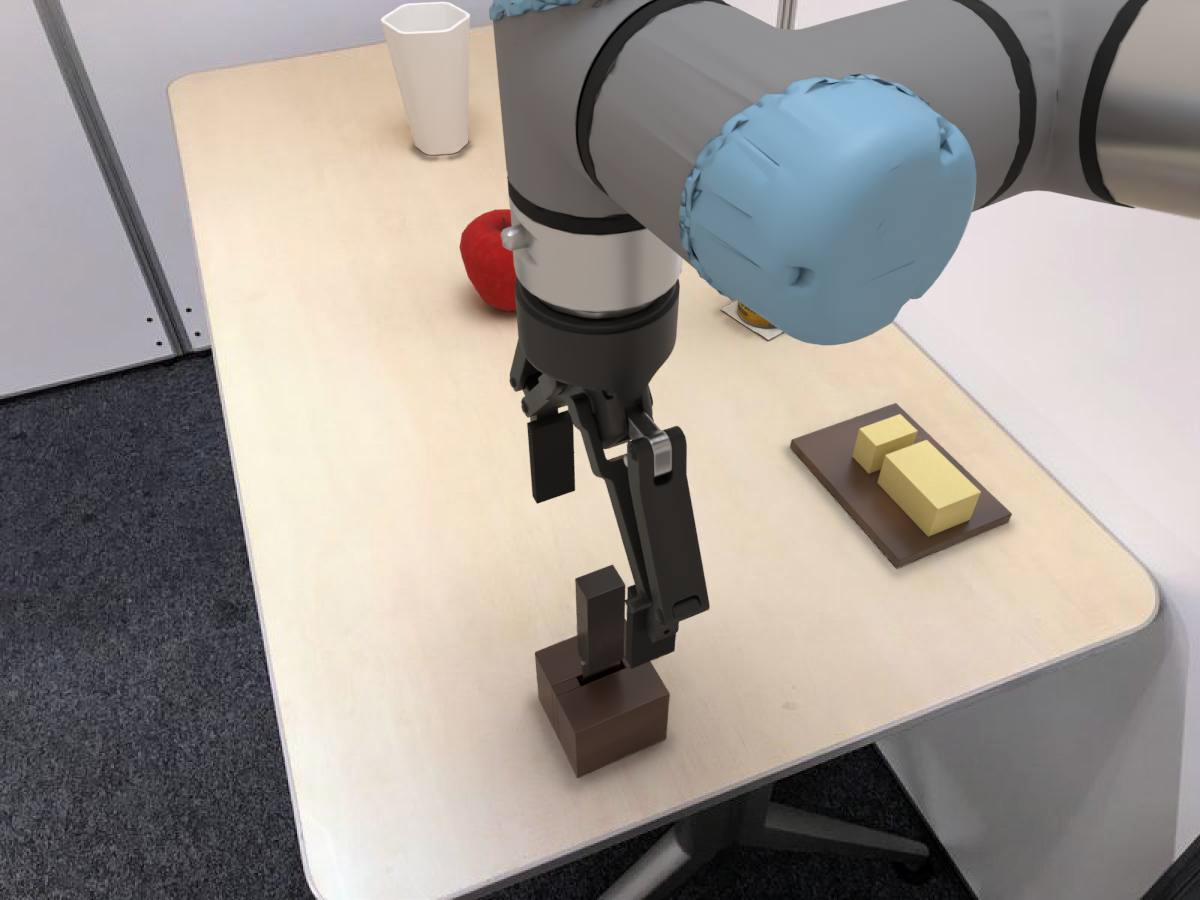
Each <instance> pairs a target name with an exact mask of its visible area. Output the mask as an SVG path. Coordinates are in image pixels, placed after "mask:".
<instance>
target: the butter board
mask: <svg viewBox="0 0 1200 900" xmlns="http://www.w3.org/2000/svg"><path fill="white" fill-rule="evenodd" d="M899 414H901V415H902V416H903V417H904V418H905V419H906V420H907V421H908V422H909V423H910V424H911V425H912V426H913V427H914V428H915V429H916V430H917V431H918V432H917V435H916V438H915V441H914V444H916V443H919V442H922V441H924V440H928V441H929V442H930V443H931V444H932V445H933V446H934V447H935V448H936V449H937V450H938V451H939V452H940V453H941V454H942V455H943V456H944V457H945V458H946V459H947V460H948V461H949V462H950V463H951V464H952V465H954V466H955V467H956V468H957V469H958V470H959V471H960V472H961V473H962V474H963V475H964V476H965V477H966V478H967V479H968V480H969V481H970V482H971V483H972V484H973V485H974V486H975V487H976V488H977V489H978V490H979V491H981V493H980V496H979V498H978V501H977V503H976V506H975V508H974V511H973V514H972V516H971V519H970V520H968V521H966V522H963V523H961V524H958V525H956V526H954V527H951V528H949V529H946V530H944V531H941V532H939V533H936V534H934V535H932V536H929V537H928V536H927V535H926V534H925V533H924V532H923V531H922V530H921V529H920V528H919V527H918V526H917V524H916V523H915V522H914V521H913V520H912V519H911V518H910V517H909V516H908V515H907V514H906V513H905V512H904V511H903V510H902V509H901V507H900V506H899V505H898V504H897V503H896V502H895V501H894V500H893V499H892V498H891V497H890V496H889V495H888V494H887V493H886V492H885V490H884V489H883V488H882V487H881V486H880V485H879V484H878V483H877V482H878V479H879V475H880V472H881V470H878V471H875V472H873V473H870V474H868V473H867V471H866V470H865V469H864V468H863V467H862V466H861V465H860V464H859V463H858V462H857V461H856V460H855V459H854V458H853V452H854V448H855V444H856V440H857V436H858V432H859V429H860V428H862V427H865V426H868V425H871V424H874V423H876V422H879V421H882V420H885V419H888V418H890V417H893V416H896V415H899ZM789 447H790V449H791V450H792V451H793V452H794V453H795V454H796V456H797V457H798V458H799V459H800V460H801V461H802V462H803V463H804V465H805V466H806V467H807V468H808V469H809V470H810V471H811V473H813V475H814V476H815V477H816V478H817V479H818V481H820V483H821V484H822V485H823V486H824V487H825V489H826V490H828V492H829V493H830V494H831V495H832V496H833V497H834V499H835V500H836V501H837V502H838V503H839V504H840V505H841V506H842V508H843V509H844V511H846V512H847V513H848V514H849V516H850V517H851V518H852V519H853V520H854V521H855V523H856V524H858V526H859V527H860V528H861V529H862V530H863V531H864V532H865V534H866V535H867V536H868V537H869V538H870V539H871V540H872V541H873V543H874V544H875V545H876V546H877V548H879V549H880V550H881V552H882V553H883V554H884V555H885V556H886V557H887V558H888V560H889V561H890V562H891V563H892V564H893V565H894V567H895V568H900V567H902V566H905V565H907V564H910V563H913V562H915V561H917V560H919V559H922V558H924V557H927V556H929V555H931V554H933V553H936V552H938V551H941V550H943V549H945V548H948V547H951V546H952V545H955V544H957V543H960V542H963V541H965V540H967V539H970V538H973V537H975V536H977V535H979V534H981V533H985V532H987V531H989V530H991V529H994V528H996V527H998V526H1001V525H1004V524H1006V523H1008V522H1010V520H1011V517H1012V516H1013V513H1012V511H1010V510H1009V509H1008V508H1007V507H1006V506H1005V505H1004V504H1003V503H1002V502H1001V501H999V500H998V498H997V497H995V496H994V495H993V494H992V493H991V492H990V491H989V490H988V489H987V488H986V487H985V486H984V485H983V484H982V483H981V482H980V481H978V479H976V478H975V477H974V476H973V475H972V474H971V472H969V471H968V470H967V469H966V468H965V467H964V466H963V465H962V464H961V463H960V462H959V461H958V460H956V459H955V457H953V456H952V455H951V453H949V452H948V450H946V449H945V448H944V447H943V446H942V445H941V444H940V443H938V441H936V440H935V439H934V437H932V436H931V435H930V433H928V432H927V430H925V429H924V427H922V426H921V425H920V424H919V423H918V422H917V421H916V420H915V419H914V418H913V417H912V416H911V415H910V414H908V413H907V412H906V411H905V410H904V409H903V408H902V407H901V406H900V405H899V404H898V403H897V402H894V403H891V404H889V405H886V406H883V407H880V408H877V409H874V410H872V411H869V412H866V413H863V414H860V415H857V416H854V417H852V418H849V419H846V420H843V421H840V422H838V423H835V424H832V425H829V426H827V427H826V426H825V427H823V428H821V429H818V430H815V431H812V432H809V433H805V434H804V435H801V436H799V437H798V436H797V437H795V438H793V439H792V438H791V440H790V446H789Z"/></svg>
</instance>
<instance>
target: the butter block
mask: <svg viewBox="0 0 1200 900" xmlns="http://www.w3.org/2000/svg"><path fill="white" fill-rule="evenodd" d="M877 483H878V484H879V485H880V486H881V487H882V488H883V489H884V490H885V492H886V493H887V494H888V495H889V496H890V497H891V498H892V499H893V500H894V501H895V502H896V503H897V504H898V505H899V506H900V507H901V509H902V510H903V511H904V512H905V513H906V514H907V515H908V516H909V517H910V518H911V519H912V520H913V521H914V522H915V523H916V524H917V526H918V527H919V528H920V529H921V530H922V531H923V532H924V533H925V534H926V535H927V536H928V537H929V536H932V535H934V534H936V533H939V532H941V531H944V530H946V529H949V528H951V527H954V526H956V525H958V524H961V523H963V522H966V521H968V520H970V519H971V516H972V514H973V511H974V508H975V506H976V503H977V501H978V498H979V496H980V493H981V491H979V490H978V489H977V488H976V487H975V486H974V485H973V484H972V483H971V482H970V481H969V480H968V479H967V478H966V477H965V476H964V475H963V474H962V473H961V472H960V471H959V470H958V469H957V468H956V467H955V466H954V465H952V464H951V463H950V462H949V461H948V460H947V459H946V458H945V457H944V456H943V455H942V454H941V453H940V452H939V451H938V450H937V449H936V448H935V447H934V446H933V445H932V444H931V443H930V442H929V441H928V440H924V441H922V442H919V443H916V444H914V445H911V446H908V447H906V448H903V449H900V450H898V451H895V452H892V453H889V454H887V455H885V458H884V461H883V465H882V468H881V472H880V475H879V479H878V482H877Z"/></svg>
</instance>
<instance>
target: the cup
mask: <svg viewBox="0 0 1200 900" xmlns="http://www.w3.org/2000/svg"><path fill="white" fill-rule="evenodd" d="M380 24H381V27H382V31H383V35H384V38H385V42H386V45H387V49H388V52H389V56H390V60H391V63H392V68H393V71H394V74H395V79H396V82H397V85H398V89H399V93H400V96H401V99H402V102H403V107H404V111H405V115H406V117H407V122H408V124H409V129H410V133H411V136H412V140H413V143H414V146H415V148H418V149H419V150H420V151H421V152H422V153H424V154H425V155H428V156H429V155H430V156H436V155H437V156H438V155H451V154H455V153H456V154H457V153H458V152H460V151H461V150H462V149H463V148H464V147H465V146H466V145H467V144H469V114H470V113H469V112H470V111H469V110H470V109H469V108H470V107H469V105H470V47H471V46H470V40H471V39H470V38H471V32H470V31H471V29H470V28H471V14H470V12H467V11H466V10H464V9H462V8H460V7H458V6H456V5H455V4H453V3H451V2H448V1H433V2H432V1H431V2H411V3H410V2H409V3H405V4H401V5H399V6H397V7H396V8H395V9H393V10H392V11H390V12H388V13H387V14H385V15H383V16H382V17H381V18H380Z"/></svg>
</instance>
